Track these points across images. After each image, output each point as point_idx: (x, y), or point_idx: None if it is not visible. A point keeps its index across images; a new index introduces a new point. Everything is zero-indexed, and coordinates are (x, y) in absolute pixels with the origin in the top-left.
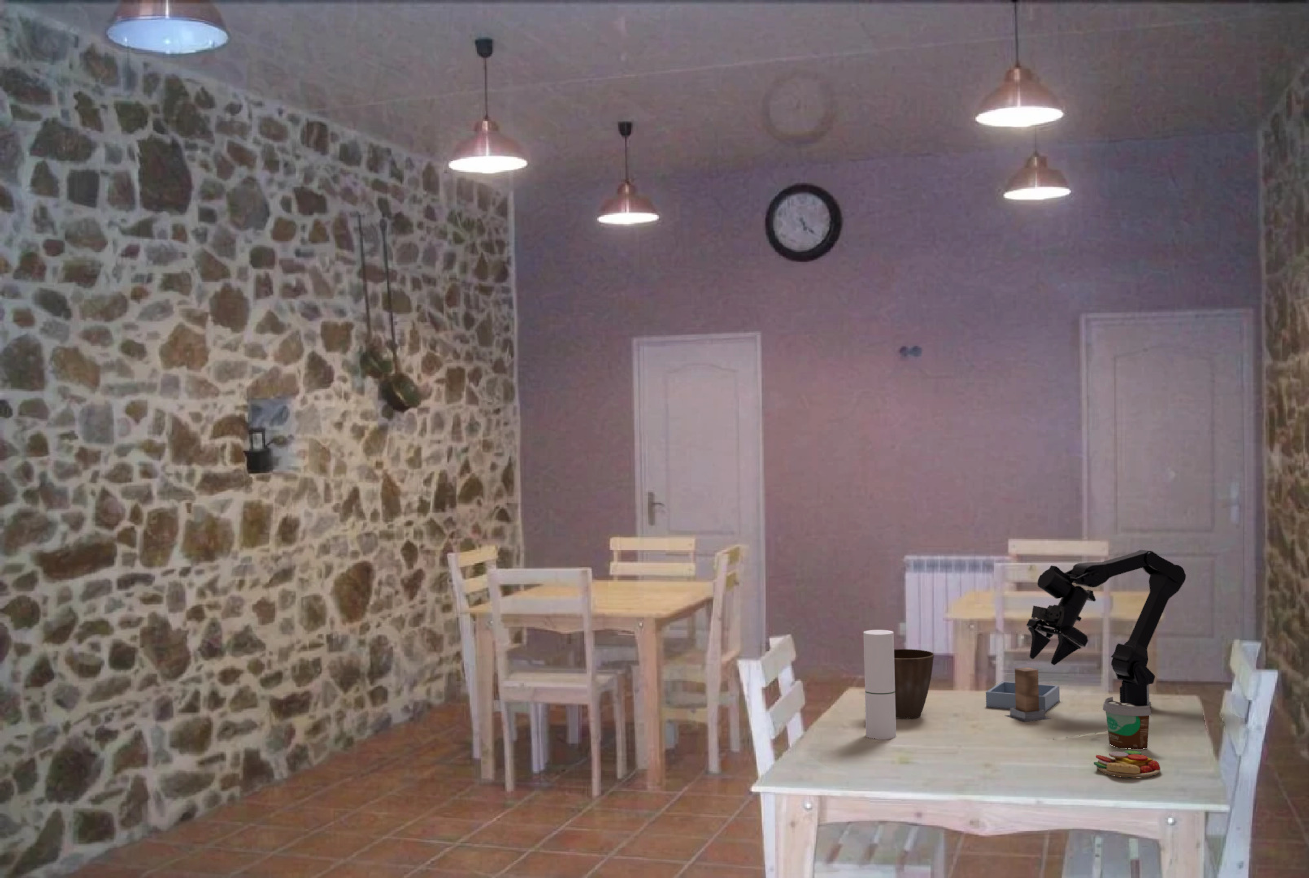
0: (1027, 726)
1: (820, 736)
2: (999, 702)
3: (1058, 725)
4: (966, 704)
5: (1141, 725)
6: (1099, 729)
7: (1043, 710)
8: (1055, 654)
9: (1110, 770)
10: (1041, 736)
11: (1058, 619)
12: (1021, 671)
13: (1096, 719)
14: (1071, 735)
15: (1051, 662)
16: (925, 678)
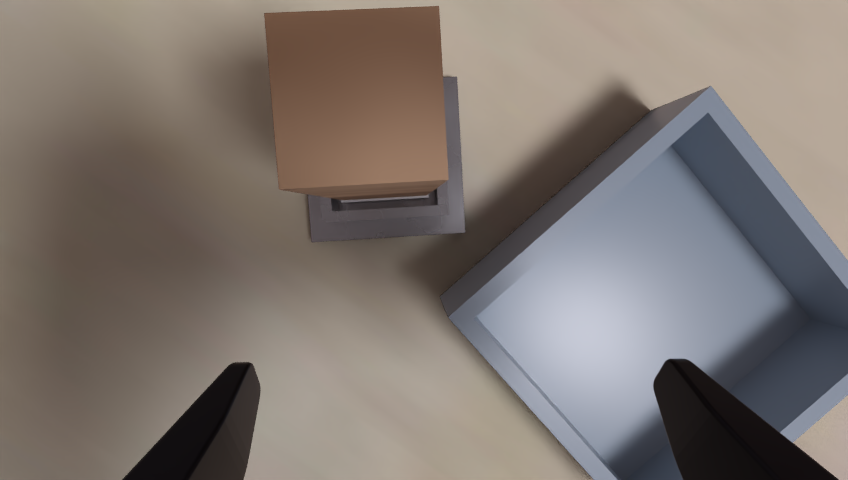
0: (262, 77)
1: None
2: (621, 148)
3: (224, 219)
4: (779, 83)
5: None
6: (83, 339)
7: (321, 213)
8: (148, 466)
9: None
10: (59, 16)
11: None
12: (324, 15)
13: (260, 443)
14: (26, 154)
15: (235, 366)
16: None
